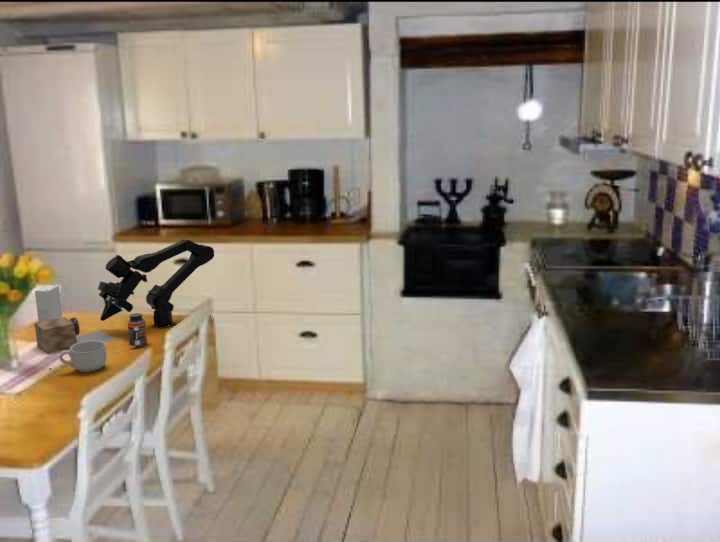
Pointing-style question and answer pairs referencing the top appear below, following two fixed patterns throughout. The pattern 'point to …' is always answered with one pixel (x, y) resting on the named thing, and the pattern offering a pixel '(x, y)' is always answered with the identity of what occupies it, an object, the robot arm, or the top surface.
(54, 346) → the press housing
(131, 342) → the supplement bottle
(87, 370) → the teacup
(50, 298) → the skincare box
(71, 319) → the plunger
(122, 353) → the top surface
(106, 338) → the slate board
